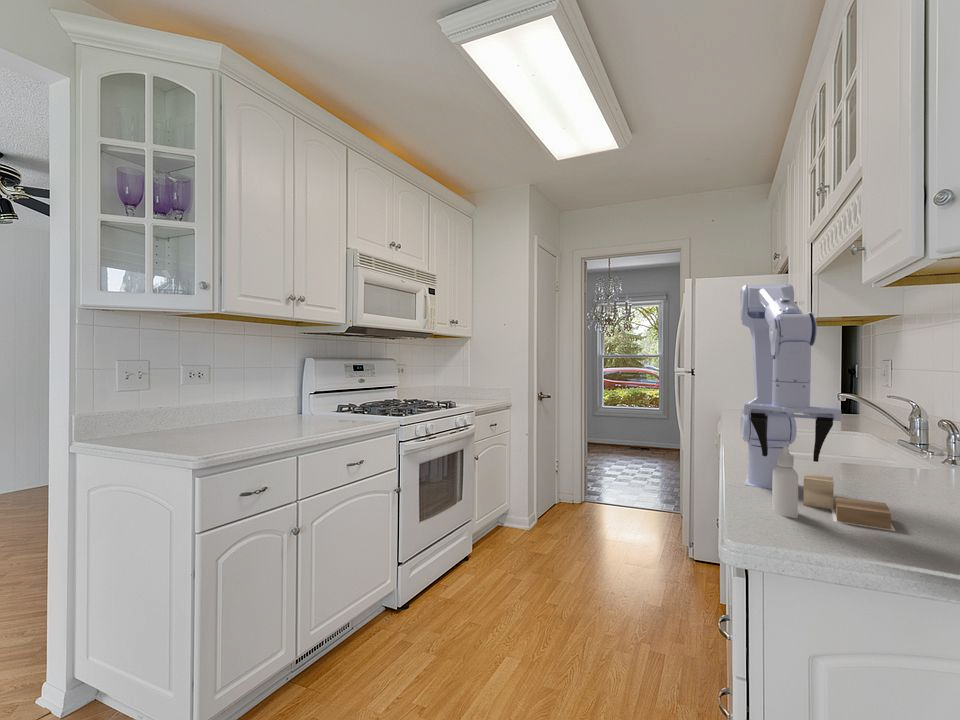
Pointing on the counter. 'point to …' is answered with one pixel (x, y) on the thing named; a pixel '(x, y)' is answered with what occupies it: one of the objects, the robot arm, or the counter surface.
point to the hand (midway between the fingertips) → (789, 457)
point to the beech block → (818, 491)
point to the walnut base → (862, 512)
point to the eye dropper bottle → (785, 486)
